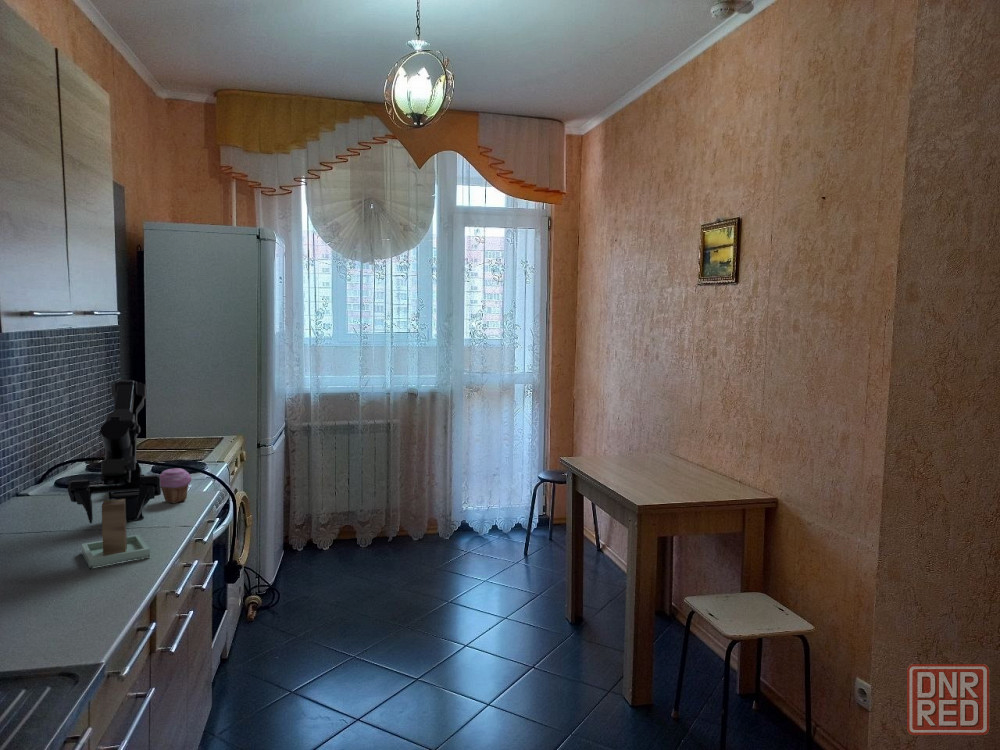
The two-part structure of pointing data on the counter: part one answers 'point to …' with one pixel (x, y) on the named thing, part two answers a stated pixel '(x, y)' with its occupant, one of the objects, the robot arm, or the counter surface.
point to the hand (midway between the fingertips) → (113, 520)
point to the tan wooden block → (114, 526)
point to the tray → (134, 551)
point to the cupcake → (175, 484)
